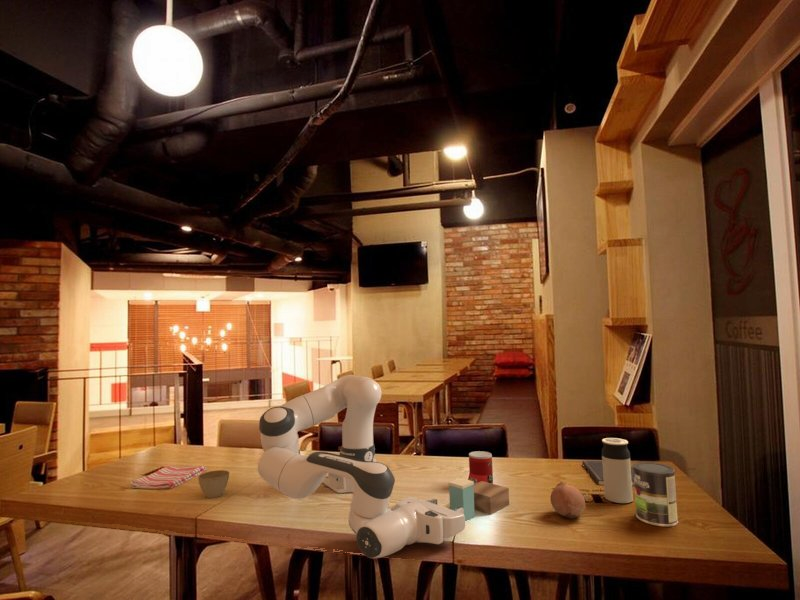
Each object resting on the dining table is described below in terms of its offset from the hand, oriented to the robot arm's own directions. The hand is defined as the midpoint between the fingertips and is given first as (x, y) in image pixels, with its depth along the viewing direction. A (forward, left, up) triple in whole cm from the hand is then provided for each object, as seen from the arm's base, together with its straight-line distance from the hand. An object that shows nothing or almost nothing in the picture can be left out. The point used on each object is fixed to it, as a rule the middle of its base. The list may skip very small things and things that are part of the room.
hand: (448, 505), depth 123 cm
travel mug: (+27, +50, -5) cm, 57 cm away
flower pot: (-76, -35, -5) cm, 83 cm away
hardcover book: (+17, +73, -6) cm, 75 cm away
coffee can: (+40, +42, -6) cm, 58 cm away
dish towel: (-107, -40, -6) cm, 115 cm away
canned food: (-12, +32, -5) cm, 34 cm away
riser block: (-1, +19, -5) cm, 20 cm away
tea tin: (-1, +7, -5) cm, 9 cm away
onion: (+21, +28, -6) cm, 36 cm away
